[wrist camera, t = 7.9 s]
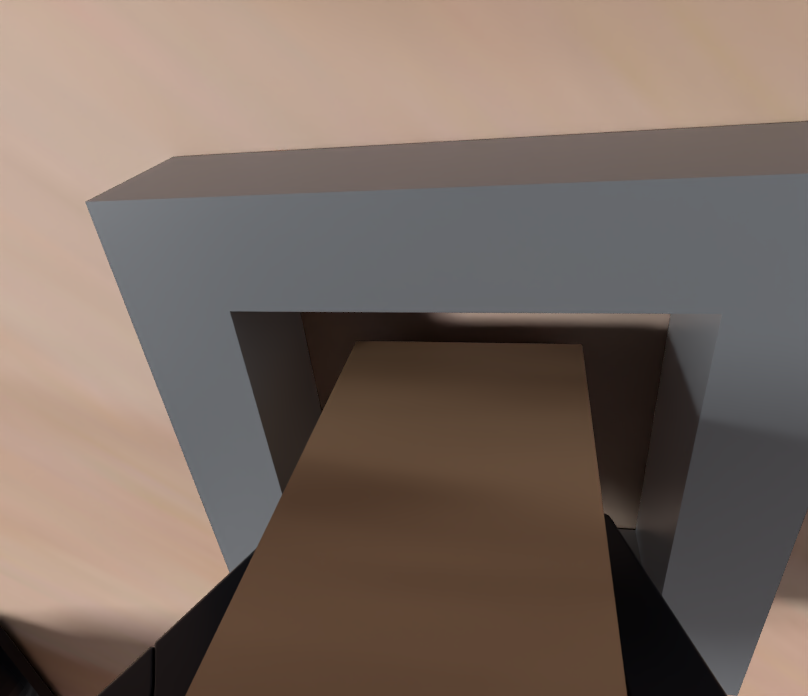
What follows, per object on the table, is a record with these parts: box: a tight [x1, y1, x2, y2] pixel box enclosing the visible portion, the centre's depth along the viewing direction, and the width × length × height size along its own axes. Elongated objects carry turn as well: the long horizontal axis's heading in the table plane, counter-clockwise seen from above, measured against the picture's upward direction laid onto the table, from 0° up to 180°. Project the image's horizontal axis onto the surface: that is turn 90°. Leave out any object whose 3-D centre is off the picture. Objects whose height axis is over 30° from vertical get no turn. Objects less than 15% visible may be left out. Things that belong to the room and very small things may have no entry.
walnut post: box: [185, 341, 627, 696], centre depth 9 cm, size 4×4×7 cm
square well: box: [85, 121, 808, 696], centre depth 11 cm, size 11×11×2 cm
